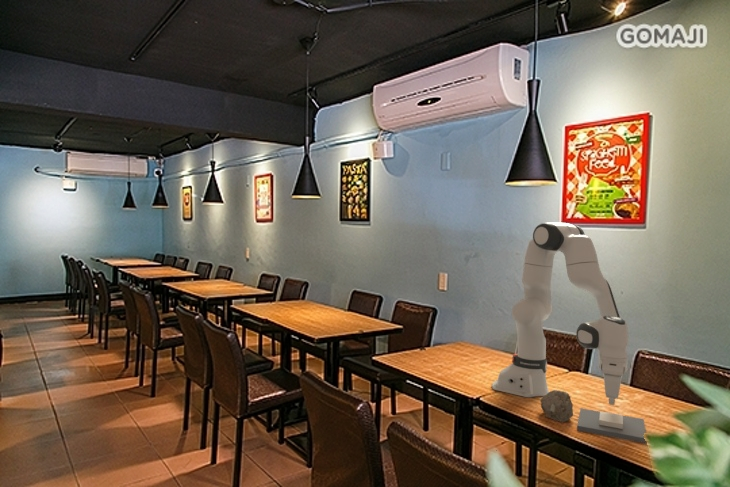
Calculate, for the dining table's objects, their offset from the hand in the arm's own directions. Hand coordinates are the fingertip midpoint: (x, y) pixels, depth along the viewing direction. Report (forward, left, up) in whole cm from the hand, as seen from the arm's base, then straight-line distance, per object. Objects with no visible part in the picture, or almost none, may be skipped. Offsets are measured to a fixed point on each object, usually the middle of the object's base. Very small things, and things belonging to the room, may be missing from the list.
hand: (611, 403), depth 166 cm
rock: (-17, -4, -7) cm, 19 cm away
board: (0, -3, -7) cm, 8 cm away
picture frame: (0, +1, -4) cm, 4 cm away
